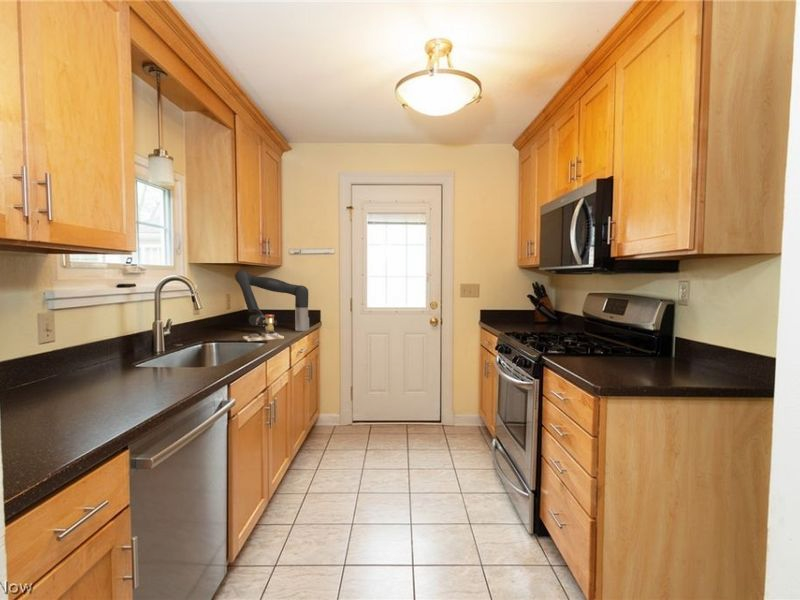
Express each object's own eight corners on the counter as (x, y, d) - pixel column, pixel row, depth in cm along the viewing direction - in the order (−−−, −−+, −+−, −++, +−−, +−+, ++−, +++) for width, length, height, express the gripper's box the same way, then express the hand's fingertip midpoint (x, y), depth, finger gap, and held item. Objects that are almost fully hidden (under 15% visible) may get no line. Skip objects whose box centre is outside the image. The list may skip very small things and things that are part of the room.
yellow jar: (272, 333, 261) (272, 314, 260) (275, 334, 256) (275, 315, 255) (263, 333, 257) (263, 314, 256) (266, 335, 252) (266, 315, 251)
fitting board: (277, 335, 266) (277, 331, 266) (283, 338, 255) (283, 333, 255) (242, 338, 253) (242, 333, 253) (248, 341, 243) (248, 335, 243)
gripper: (252, 316, 264) (259, 319, 250) (274, 315, 272) (282, 318, 258) (252, 327, 264) (259, 331, 250) (274, 326, 272) (282, 329, 258)
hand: (270, 324), depth 254 cm, fingers closed on yellow jar, 5 cm apart
